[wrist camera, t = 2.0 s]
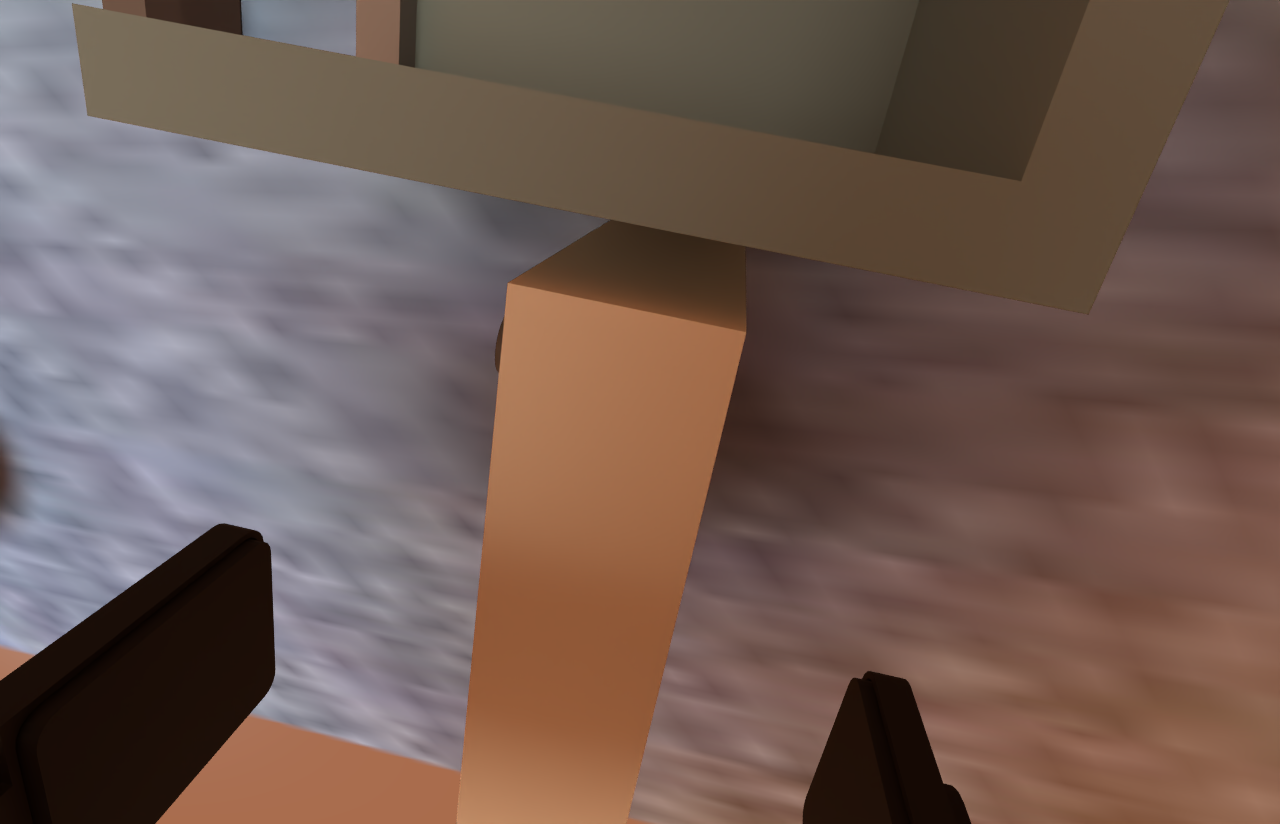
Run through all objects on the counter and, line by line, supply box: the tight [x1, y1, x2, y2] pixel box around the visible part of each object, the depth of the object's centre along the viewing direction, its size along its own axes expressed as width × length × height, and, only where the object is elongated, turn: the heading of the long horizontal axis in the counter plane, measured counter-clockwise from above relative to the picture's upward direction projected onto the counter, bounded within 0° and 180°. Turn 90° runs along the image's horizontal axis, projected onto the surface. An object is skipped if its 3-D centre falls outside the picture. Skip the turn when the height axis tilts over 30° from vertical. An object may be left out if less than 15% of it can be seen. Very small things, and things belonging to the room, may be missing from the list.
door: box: [456, 220, 746, 824], centre depth 15 cm, size 4×11×10 cm, turn 170°
